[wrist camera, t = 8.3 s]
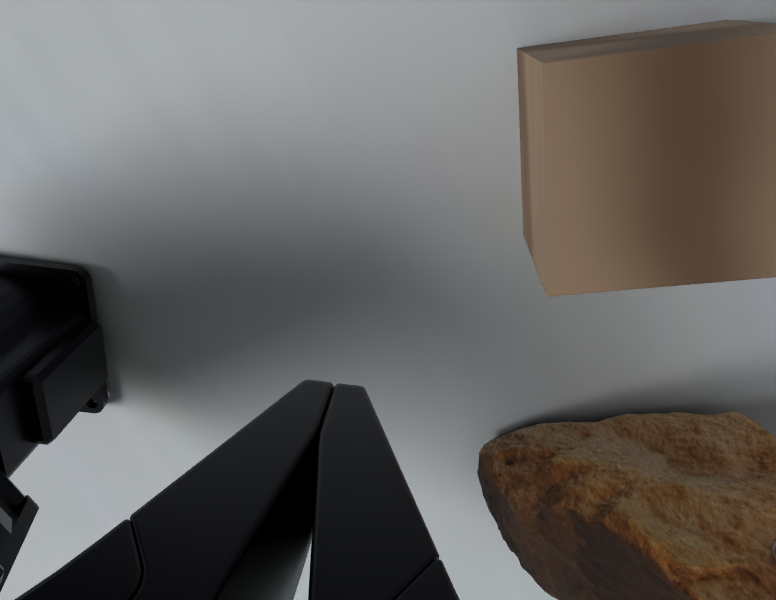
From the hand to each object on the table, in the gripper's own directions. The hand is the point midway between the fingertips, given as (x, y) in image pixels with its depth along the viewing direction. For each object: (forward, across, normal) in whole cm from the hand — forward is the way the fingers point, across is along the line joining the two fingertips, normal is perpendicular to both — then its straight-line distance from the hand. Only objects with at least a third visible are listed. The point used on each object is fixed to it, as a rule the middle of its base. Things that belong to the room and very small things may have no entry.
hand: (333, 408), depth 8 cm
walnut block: (+13, -7, -2) cm, 15 cm away
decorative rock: (+13, -11, +10) cm, 20 cm away
